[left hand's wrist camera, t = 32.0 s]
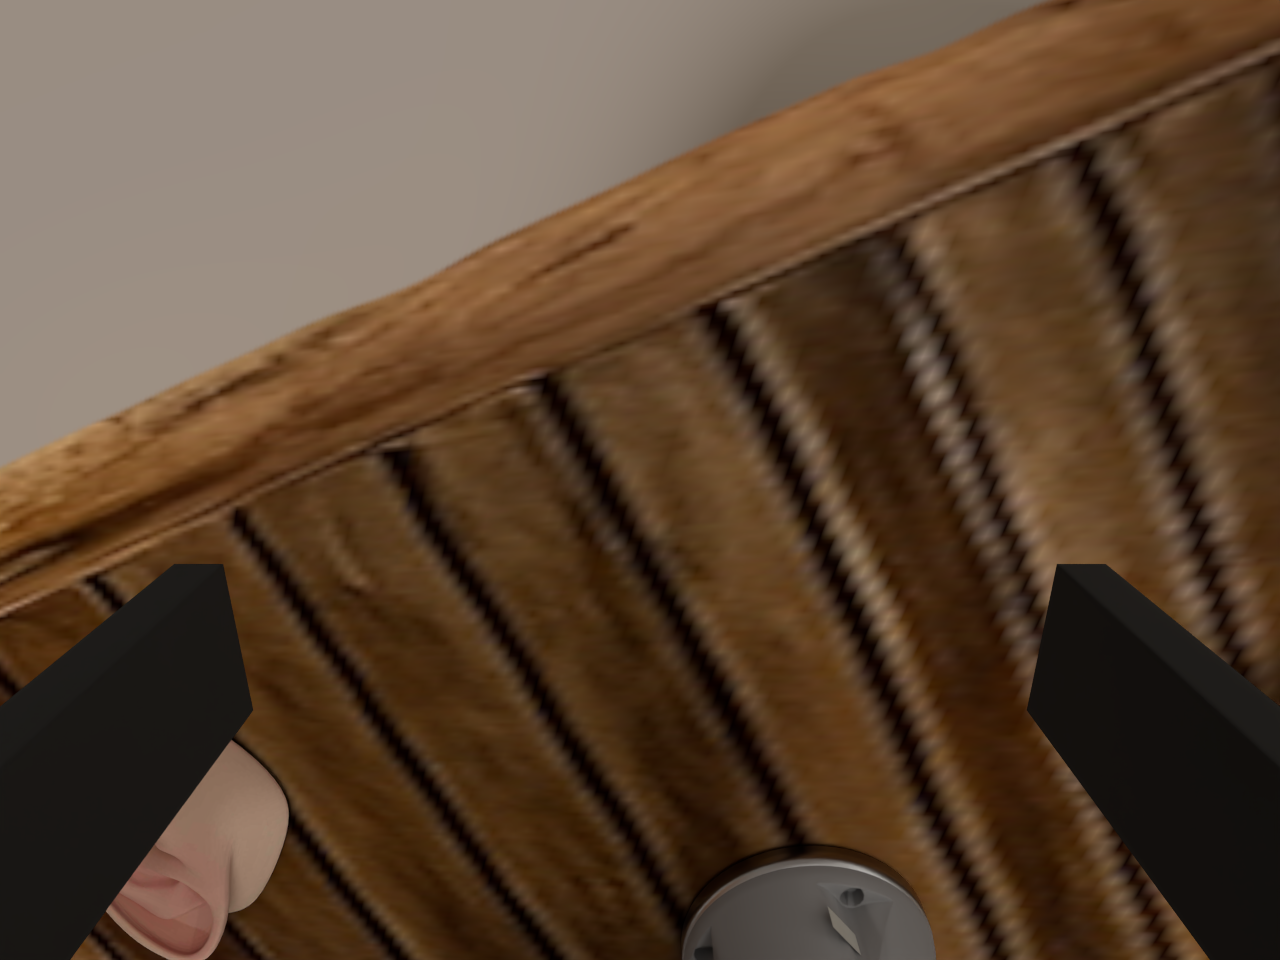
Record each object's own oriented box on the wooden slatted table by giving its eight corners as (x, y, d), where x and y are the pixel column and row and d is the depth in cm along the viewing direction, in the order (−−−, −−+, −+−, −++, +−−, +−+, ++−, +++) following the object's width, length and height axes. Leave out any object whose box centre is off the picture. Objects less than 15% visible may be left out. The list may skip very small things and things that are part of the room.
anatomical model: (95, 738, 39) (306, 839, 42) (142, 689, 43) (333, 785, 45) (7, 903, 43) (204, 987, 45) (57, 846, 47) (237, 926, 49)
